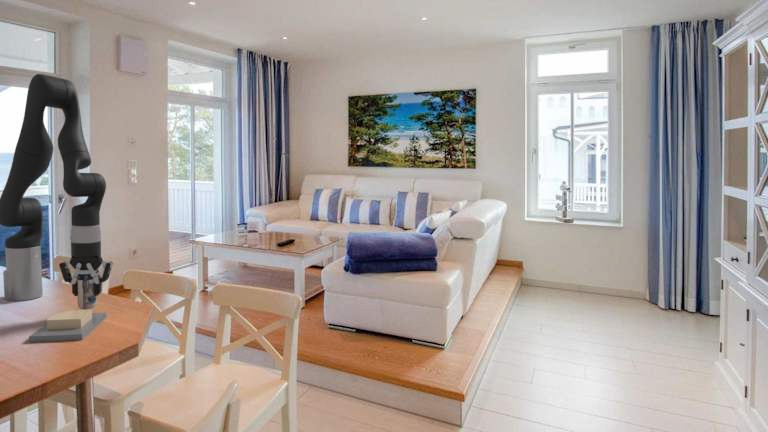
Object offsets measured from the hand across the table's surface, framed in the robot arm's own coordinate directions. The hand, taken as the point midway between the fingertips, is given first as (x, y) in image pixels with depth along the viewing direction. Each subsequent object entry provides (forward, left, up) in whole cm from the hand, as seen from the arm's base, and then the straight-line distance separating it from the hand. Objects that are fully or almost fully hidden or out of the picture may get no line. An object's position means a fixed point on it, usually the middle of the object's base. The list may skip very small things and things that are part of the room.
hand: (87, 295), depth 139 cm
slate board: (0, -13, -6) cm, 14 cm away
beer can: (0, 0, -4) cm, 4 cm away
